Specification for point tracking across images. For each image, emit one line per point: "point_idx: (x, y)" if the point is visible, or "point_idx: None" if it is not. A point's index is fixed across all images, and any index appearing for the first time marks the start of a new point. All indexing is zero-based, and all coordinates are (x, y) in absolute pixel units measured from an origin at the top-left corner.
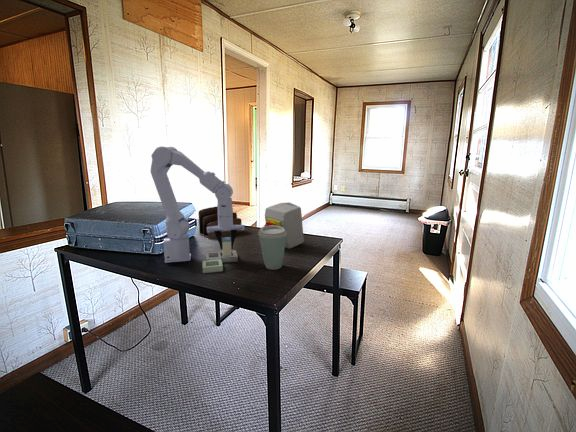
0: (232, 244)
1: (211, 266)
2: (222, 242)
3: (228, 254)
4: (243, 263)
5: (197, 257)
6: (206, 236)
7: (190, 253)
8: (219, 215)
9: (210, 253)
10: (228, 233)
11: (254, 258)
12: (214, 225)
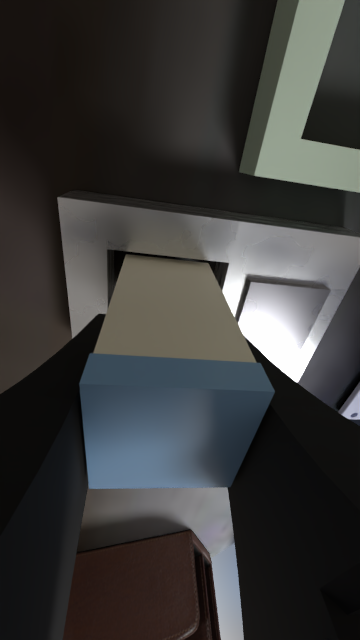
0: (83, 338)
1: None
2: (252, 361)
3: (155, 266)
4: (11, 89)
5: (327, 368)
6: (195, 543)
7: (343, 415)
8: None
9: (287, 348)
10: (99, 556)
11: None
12: (161, 614)
